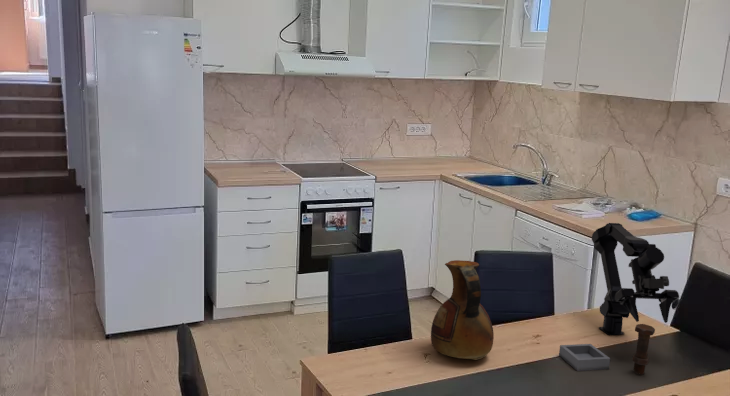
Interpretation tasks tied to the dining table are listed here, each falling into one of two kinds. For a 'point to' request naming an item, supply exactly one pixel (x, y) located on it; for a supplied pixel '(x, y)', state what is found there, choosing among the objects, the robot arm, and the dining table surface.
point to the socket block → (584, 357)
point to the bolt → (642, 347)
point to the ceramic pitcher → (463, 317)
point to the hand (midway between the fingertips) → (652, 321)
